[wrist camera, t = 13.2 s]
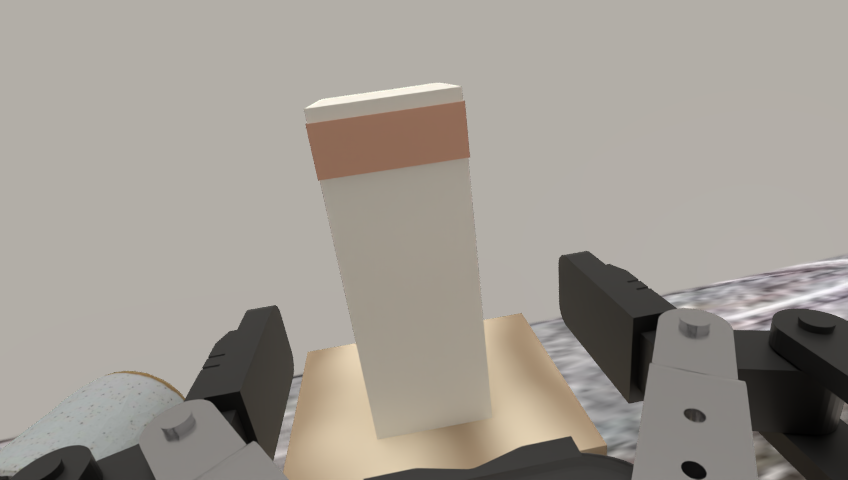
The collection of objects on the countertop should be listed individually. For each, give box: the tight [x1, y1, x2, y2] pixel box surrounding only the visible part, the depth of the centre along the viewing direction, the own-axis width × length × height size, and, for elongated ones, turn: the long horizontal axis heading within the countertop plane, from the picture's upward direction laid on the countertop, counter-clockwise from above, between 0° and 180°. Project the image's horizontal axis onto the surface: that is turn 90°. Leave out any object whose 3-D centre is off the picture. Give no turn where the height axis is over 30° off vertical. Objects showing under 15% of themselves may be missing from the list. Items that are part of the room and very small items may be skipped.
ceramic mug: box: [0, 371, 185, 480], centre depth 23 cm, size 11×8×8 cm
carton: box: [304, 83, 492, 440], centre depth 20 cm, size 6×6×15 cm
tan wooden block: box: [283, 313, 607, 480], centre depth 24 cm, size 14×11×5 cm
